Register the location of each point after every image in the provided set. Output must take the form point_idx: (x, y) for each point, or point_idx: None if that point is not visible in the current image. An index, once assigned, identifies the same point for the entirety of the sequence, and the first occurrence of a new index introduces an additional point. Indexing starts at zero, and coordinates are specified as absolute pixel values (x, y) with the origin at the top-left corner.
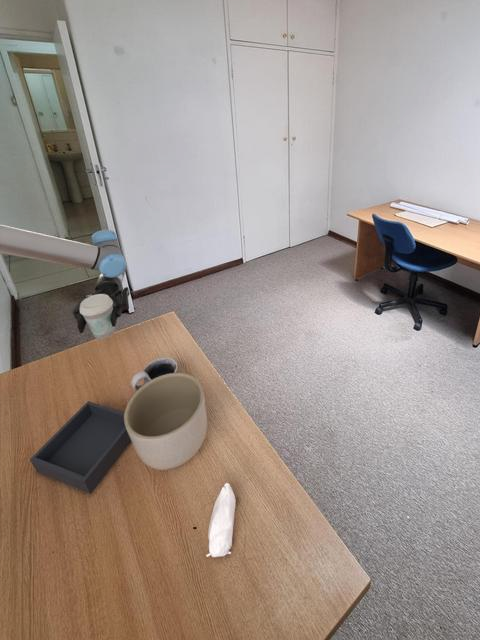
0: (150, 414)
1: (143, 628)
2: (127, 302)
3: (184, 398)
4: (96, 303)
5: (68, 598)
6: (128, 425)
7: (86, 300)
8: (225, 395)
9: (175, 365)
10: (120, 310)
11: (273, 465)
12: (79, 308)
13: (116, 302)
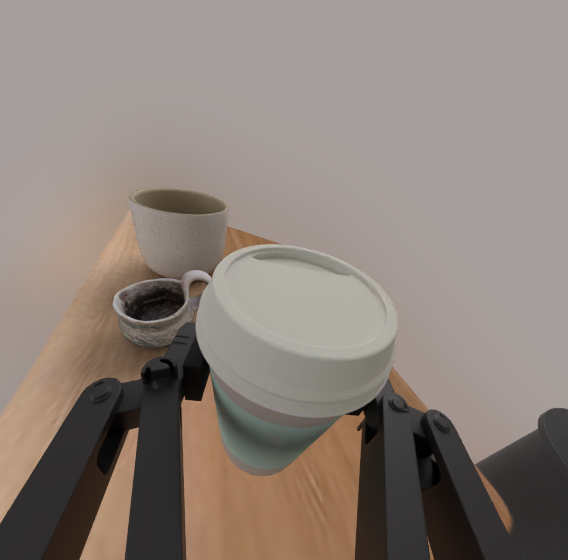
0: (200, 263)
1: (234, 228)
2: (84, 393)
3: (151, 255)
4: (291, 271)
5: (268, 244)
6: (225, 204)
7: (374, 318)
8: (87, 282)
9: (120, 296)
10: (170, 349)
11: (120, 230)
12: (444, 472)
13: (165, 424)
